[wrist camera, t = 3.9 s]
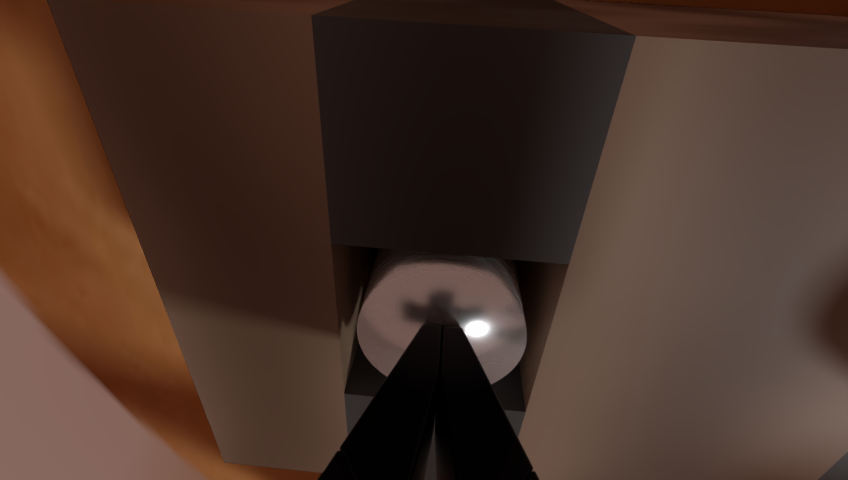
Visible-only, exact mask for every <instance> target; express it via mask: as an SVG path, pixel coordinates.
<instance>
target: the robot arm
mask: <svg viewBox="0 0 848 480" xmlns="http://www.w3.org/2000/svg"><path fill="white" fill-rule="evenodd" d="M435 412H436V413H435ZM434 422H435V457H436V478H437V480H539V478H538V476H537V474H536V472H535V471H533V466H532V464H531V462H530V460H529V458H528V456H527V454H526V452H525V450H524V448H523V446H522V444H521V442H520V440H519V438H518V436H517V434H516V432H515V431H514V429H513V427H512V425H511V423H510V421H509V419H508V417H507V415H506V413H505V411H504V409H503V407H502V405H501V403H500V401H499V399H498V397H497V395H496V393H495V391H494V389H493V387H492V385H491V383H490V381H489V379H488V377H487V375H486V373H485V371H484V369H483V367H482V365H481V363H480V361H479V359H478V357H477V355H476V353H475V351H474V349H473V347H472V345H471V343H470V342H469V340H468V338H467V336H466V334H465V332H464V330H463V328H461V327H458V326H447V325H446V326H444V327H443V328H442V326H441V325H436V324H423V325H422V326H421V327H420V329H419V330H418V332H417V333H416V335H415V336H414V338H413V339H412V341H411V342H410V344H409V345H408V347H407V348H406V350H405V351H404V353H403V354H402V356H401V357H400V358H399V360H398V361H397V363H396V364H395V366H394V367H393V369H392V370H391V372H390V373H389V375H388V376H387V378H386V379H385V381H384V382H383V384H382V385H381V387H380V388H379V390H378V391H377V393H376V394H375V396H374V397H373V399H372V400H371V402H370V403H369V405H368V406H367V408H366V409H365V411H364V412H363V414H362V415H361V417H360V418H359V420H358V421H357V423H356V424H355V426H354V427H353V428H352V430H351V431H350V433H349V434H348V436H347V437H346V439H345V440H344V442H343V443H342V445H341V446H340V451H337V452H336V453H335V455H334V456H333V458H332V459H331V461H330V462H329V464H328V465H327V467H326V468H325V470H324V471H323V473H322V474H321V475H320V477H319V478H318V480H424V478H425V473H426V468H427V463H428V458H429V453H430V448H431V443H432V437H433V431H434Z"/></svg>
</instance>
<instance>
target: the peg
mask: <svg viewBox="0 0 848 480" xmlns="http://www.w3.org/2000/svg"><path fill="white" fill-rule="evenodd" d="M423 324H436V325H441V326H442V328H443V327H444V326H446V325H447V326H458V327H461V328H463V330H464V332H465V334H466V336H467V338H468V340H469V342H470V343H471V345H472V347H473V349H474V351H475V353H476V355H477V357H478V359H479V361H480V363H481V365H482V367H483V369H484V371H485V373H486V375H487V377H488V379H489V381H490V383H491V384H493V383H495V382H497V381H498V380H500V379H502V378H503V377H504V376H506V375H507V374H508V373H509V372H510V371H512V370H513V369H514V368H515V366H516V365H517V364H518V362H519V361H520V359H521V357H522V356H523V353H524V351H525V348H526V342H527V329H526V323H525V317H524V311H523V306H522V300H521V294H520V288H519V282H518V276H517V270H516V264H515V260H511V259H499V258H488V257H476V256H465V255H453V254H441V253H430V252H418V251H406V250H395V249H383V248H379V250H378V253H377V257H376V260H375V263H374V267H373V270H372V273H371V277H370V280H369V283H368V287H367V290H366V293H365V297H364V300H363V303H362V307H361V310H360V313H359V317H358V321H357V336H358V341H359V344H360V347H361V349H362V351H363V353H364V355H365V356H366V357H367V359H368V360H369V361H370V363H371V364H372V365H373V366H374V367H375V368H376V369H377V370H379V371H380V372H381V373H382V374H384V375H385V376H388V375H389V373H390V372H391V370H392V369H393V367H394V366H395V364H396V363H397V361H398V360H399V358H400V357H401V356H402V354H403V353H404V351H405V350H406V348H407V347H408V345H409V344H410V342H411V341H412V339H413V338H414V336H415V335H416V333H417V332H418V330H419V329H420V327H421V326H422V325H423Z"/></svg>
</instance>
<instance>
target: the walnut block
mask: <svg viewBox="0 0 848 480" xmlns="http://www.w3.org/2000/svg"><path fill="white" fill-rule="evenodd" d="M47 2H48V5H49V7H50V10H51V12H52V15H53V18H54V20H55V23H56V25H57V28H58V31H59V33H60V36H61V38H62V41H63V44H64V46H65V49H66V51H67V54H68V57H69V59H70V62H71V64H72V67H73V70H74V72H75V75H76V77H77V80H78V83H79V85H80V88H81V91H82V93H83V96H84V98H85V101H86V104H87V106H88V109H89V111H90V114H91V117H92V119H93V122H94V124H95V127H96V130H97V132H98V135H99V137H100V140H101V143H102V145H103V148H104V150H105V153H106V156H107V158H108V161H109V163H110V166H111V169H112V171H113V174H114V176H115V179H116V182H117V184H118V187H119V189H120V192H121V195H122V197H123V200H124V202H125V205H126V208H127V210H128V213H129V215H130V218H131V221H132V223H133V226H134V228H135V231H136V234H137V236H138V239H139V242H140V244H141V247H142V249H143V252H144V255H145V257H146V260H147V262H148V265H149V268H150V270H151V273H152V275H153V278H154V281H155V283H156V286H157V288H158V291H159V294H160V296H161V299H162V301H163V304H164V307H165V309H166V312H167V314H168V317H169V320H170V322H171V325H172V327H173V330H174V333H175V335H176V338H177V340H178V343H179V346H180V348H181V351H182V353H183V356H184V359H185V361H186V364H187V366H188V369H189V372H190V374H191V377H192V379H193V382H194V385H195V387H196V390H197V392H198V395H199V398H200V400H201V403H202V406H203V408H204V411H205V413H206V416H207V419H208V421H209V424H210V426H211V429H212V432H213V434H214V437H215V439H216V442H217V445H218V447H219V450H220V452H221V455H222V458H223V460H224V463H234V464H243V465H252V466H261V467H271V468H280V469H289V470H298V471H308V472H317V473H323V471H324V470H325V468H326V467H327V465H328V464H329V462H330V461H331V459H332V458H333V456H334V455H335V453H336V452H337V451H340V446H341V445H342V443H343V442H344V440H345V439H346V437H347V436H348V434H349V433H350V431H351V430H352V428H353V427H354V426H355V424H356V423H357V421H358V420H359V418H360V417H361V415H362V414H363V412H364V411H365V409H366V408H367V406H368V405H369V403H370V402H371V400H372V399H373V397H374V396H375V394H376V393H377V391H378V390H379V388H380V387H381V385H382V384H383V382H384V381H385V379H386V378H387V376H385V375H384V374H382V373H381V372H380V371H379V370H377V369H376V368H375V367H374V366H373V365H372V364H371V363H370V361H369V360H368V359H367V357H366V356H365V355H364V353H363V351H362V349H361V347H360V344H359V341H358V336H357V321H358V317H359V313H360V310H361V307H362V303H363V300H364V297H365V293H366V290H367V287H368V283H369V280H370V277H371V273H372V270H373V267H374V263H375V260H376V257H377V253H378V250H379V248H383V249H395V250H406V251H418V252H430V253H441V254H453V255H465V256H476V257H488V258H499V259H511V260H515V264H516V270H517V276H518V282H519V288H520V294H521V300H522V306H523V311H524V317H525V323H526V329H527V342H526V348H525V351H524V353H523V356H522V357H521V359H520V361H519V362H518V364H517V365H516V366H515V368H514V369H513V370H512V371H510V372H509V373H508V374H507V375H506V376H504V377H503V378H502V379H500V380H498V381H497V382H495V383H493V384H491V385H492V387H493V389H494V391H495V393H496V395H497V397H498V399H499V401H500V403H501V405H502V407H503V409H504V411H505V413H506V415H507V417H508V419H509V421H510V423H511V425H512V427H513V429H514V431H515V432H516V434H517V436H518V438H519V440H520V442H521V444H522V446H523V448H524V450H525V452H526V454H527V456H528V458H529V460H530V462H531V464H532V466H533V471H535V472H536V474H537V476H538V478H539V480H848V16H833V15H817V14H800V13H784V12H768V11H751V10H735V9H718V8H702V7H685V6H669V5H653V4H636V3H620V2H603V1H587V0H47ZM435 413H436V412H435ZM424 480H437V478H436V457H435V422H434V431H433V437H432V443H431V448H430V453H429V458H428V463H427V468H426V473H425V478H424Z"/></svg>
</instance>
